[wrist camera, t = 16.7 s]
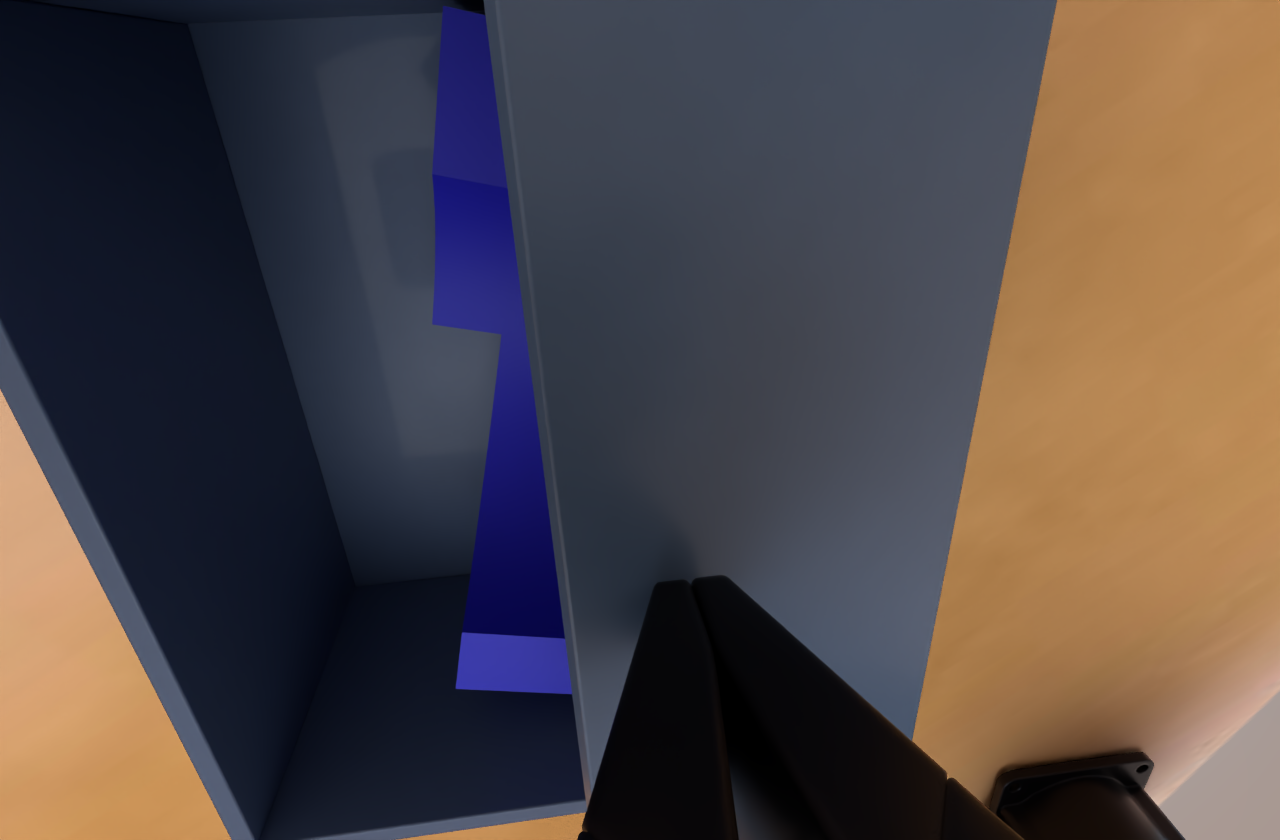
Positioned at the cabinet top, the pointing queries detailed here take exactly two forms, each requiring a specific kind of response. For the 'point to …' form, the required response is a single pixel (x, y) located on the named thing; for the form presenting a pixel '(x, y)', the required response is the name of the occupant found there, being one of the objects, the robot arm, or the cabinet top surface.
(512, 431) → the cable clip
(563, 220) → the flap
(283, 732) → the carton
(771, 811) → the robot arm
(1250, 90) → the cabinet top surface
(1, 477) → the cabinet top surface
